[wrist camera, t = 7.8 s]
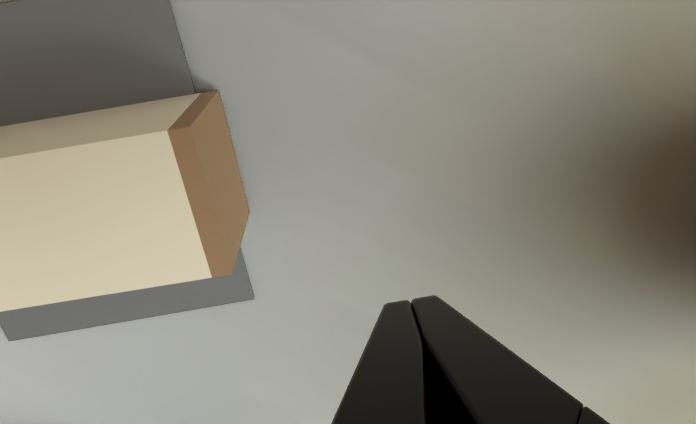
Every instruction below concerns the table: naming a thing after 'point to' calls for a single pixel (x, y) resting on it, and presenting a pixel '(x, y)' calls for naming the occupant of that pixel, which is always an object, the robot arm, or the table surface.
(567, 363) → the table surface
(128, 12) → the grey rubber mat
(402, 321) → the robot arm
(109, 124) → the cream block
